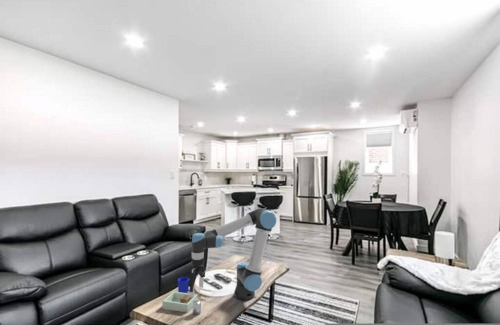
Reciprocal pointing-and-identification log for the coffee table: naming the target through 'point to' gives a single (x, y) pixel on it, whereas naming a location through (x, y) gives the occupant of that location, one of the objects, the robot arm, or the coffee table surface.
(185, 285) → the mug
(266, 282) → the coffee table surface
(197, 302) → the canister
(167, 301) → the tote
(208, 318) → the coffee table surface
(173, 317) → the coffee table surface
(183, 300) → the walnut block
